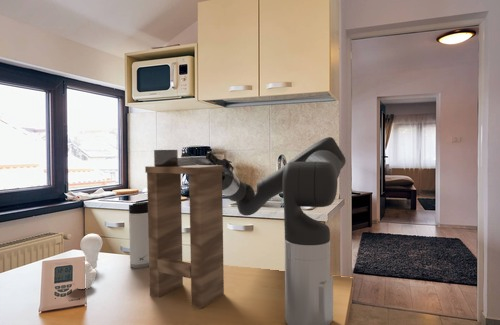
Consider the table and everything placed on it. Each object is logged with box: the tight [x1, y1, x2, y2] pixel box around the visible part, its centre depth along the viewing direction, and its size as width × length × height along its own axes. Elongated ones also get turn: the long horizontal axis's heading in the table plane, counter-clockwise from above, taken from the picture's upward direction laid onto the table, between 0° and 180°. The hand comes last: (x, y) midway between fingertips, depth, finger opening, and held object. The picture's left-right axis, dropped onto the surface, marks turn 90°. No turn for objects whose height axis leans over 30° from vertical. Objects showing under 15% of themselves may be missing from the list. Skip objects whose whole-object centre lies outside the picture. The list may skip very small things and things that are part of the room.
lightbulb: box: [79, 233, 104, 269], centre depth 105 cm, size 6×6×11 cm
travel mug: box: [128, 201, 149, 269], centre depth 109 cm, size 6×7×20 cm
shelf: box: [144, 164, 225, 310], centre depth 86 cm, size 16×10×32 cm, turn 61°
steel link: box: [153, 149, 210, 167], centre depth 92 cm, size 6×20×4 cm, turn 151°
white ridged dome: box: [84, 261, 97, 290], centre depth 91 cm, size 6×6×7 cm
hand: (194, 154), depth 95 cm, fingers open, 8 cm apart
